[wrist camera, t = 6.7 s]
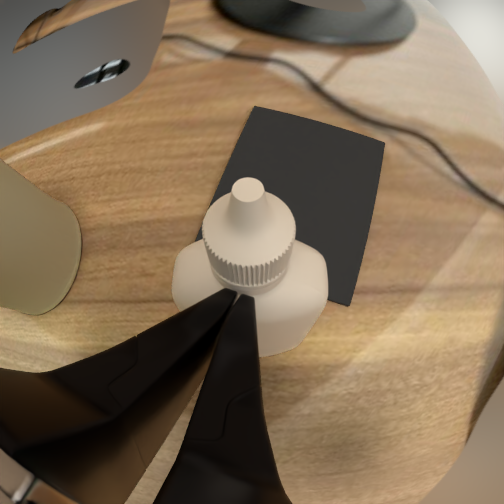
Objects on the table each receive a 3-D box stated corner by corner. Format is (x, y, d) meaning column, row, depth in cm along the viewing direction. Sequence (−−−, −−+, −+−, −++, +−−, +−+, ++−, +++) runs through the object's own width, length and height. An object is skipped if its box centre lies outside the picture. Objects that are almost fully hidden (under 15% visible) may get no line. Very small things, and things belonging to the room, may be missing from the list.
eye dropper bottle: (229, 274, 19) (204, 104, 8) (312, 320, 17) (393, 179, 7) (188, 334, 17) (95, 209, 7) (275, 386, 16) (321, 343, 5)
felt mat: (348, 306, 18) (349, 306, 17) (190, 255, 19) (189, 253, 19) (383, 144, 20) (385, 142, 20) (254, 108, 22) (254, 105, 22)
